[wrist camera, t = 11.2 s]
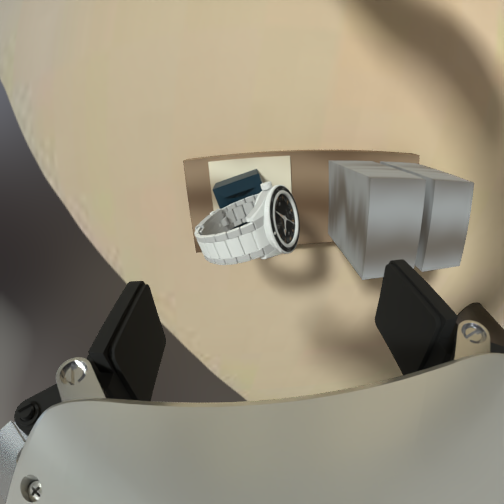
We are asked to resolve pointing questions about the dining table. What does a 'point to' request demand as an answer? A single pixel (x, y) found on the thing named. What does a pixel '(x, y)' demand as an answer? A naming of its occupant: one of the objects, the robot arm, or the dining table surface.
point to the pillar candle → (483, 321)
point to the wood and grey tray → (354, 203)
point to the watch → (249, 221)
